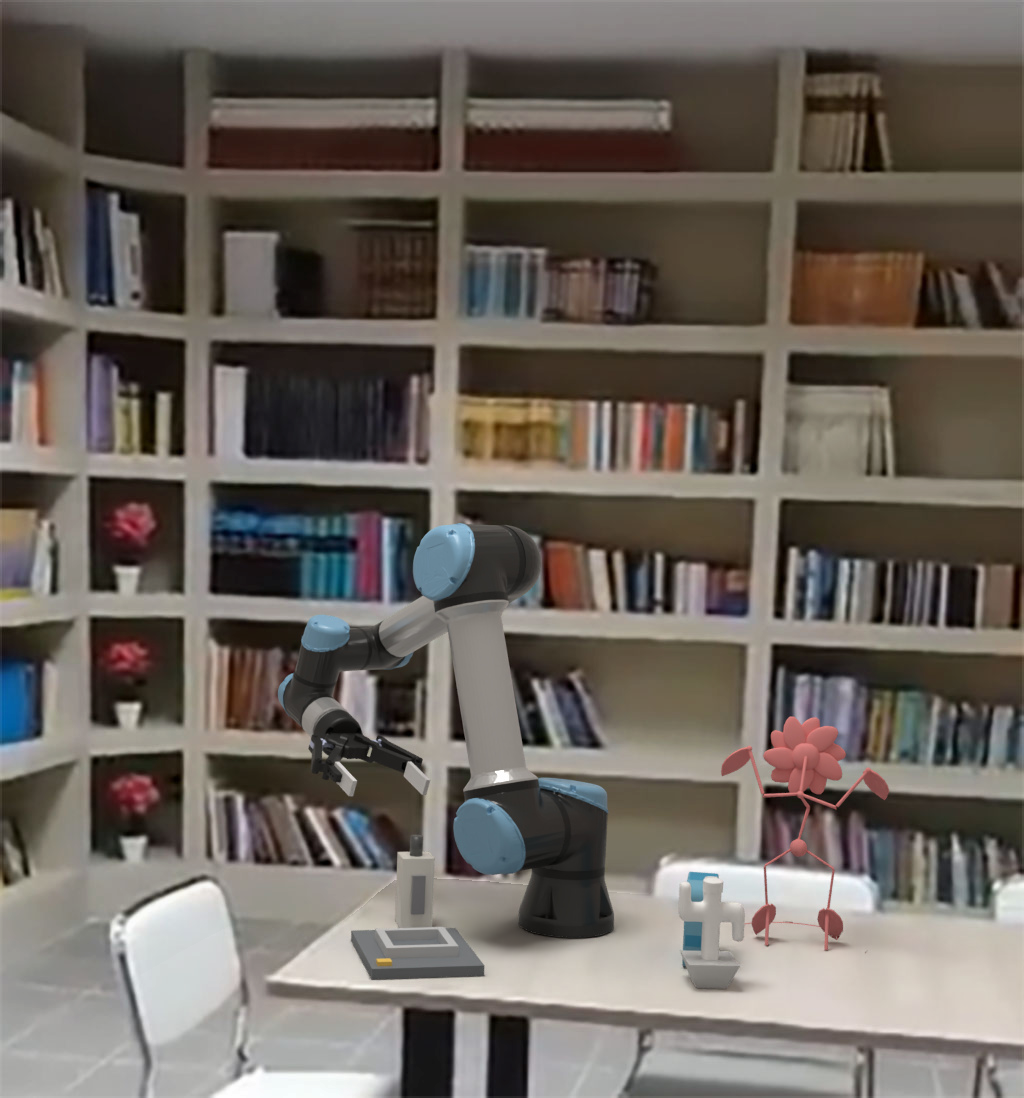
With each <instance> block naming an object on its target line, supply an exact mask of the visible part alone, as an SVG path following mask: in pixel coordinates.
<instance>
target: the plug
mask: <svg viewBox="0 0 1024 1098" xmlns="http://www.w3.org/2000/svg"><path fill="white" fill-rule="evenodd" d="M423 845H424V835H421V834H411V835H410V839H409V851H397V855H396V857H397V858H396V860H397V861H396V883H395V884H396V885H395V908H394V909H395V911H394V912H395V913H394V922H395V924H396V925H397V927H398V928H421V927H433V920H434V919H433V915H434V913H433V912H434V893H435V892H434V891H435V890H434V889H435V887H434V886H435V884H434V883H435V861H436V860H435V859H436V857H434V856H433V855H432V854H431V852H430V851H423V850H424V847H423Z"/></svg>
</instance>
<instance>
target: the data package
mask: <svg viewBox="0 0 1024 1098" xmlns="http://www.w3.org/2000/svg"><path fill="white" fill-rule="evenodd" d="M707 876H714V877H718V879H720V878H719V876H720V875H719V874H718V873H715V872H714V873H713V872H700V871H699V872H698V871H689V872H688V875H687V880H686V882H689V883H690V885H691V901H692V902H701V901H703V880H704V879H705V877H707ZM682 937H683V940H682V941H683V942H682V950H685V951H701V941H702V922H687V921H683V936H682ZM681 965H682V966H683V967H685V968H686V965H685V963H684V960H683V958H682V964H681Z"/></svg>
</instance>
